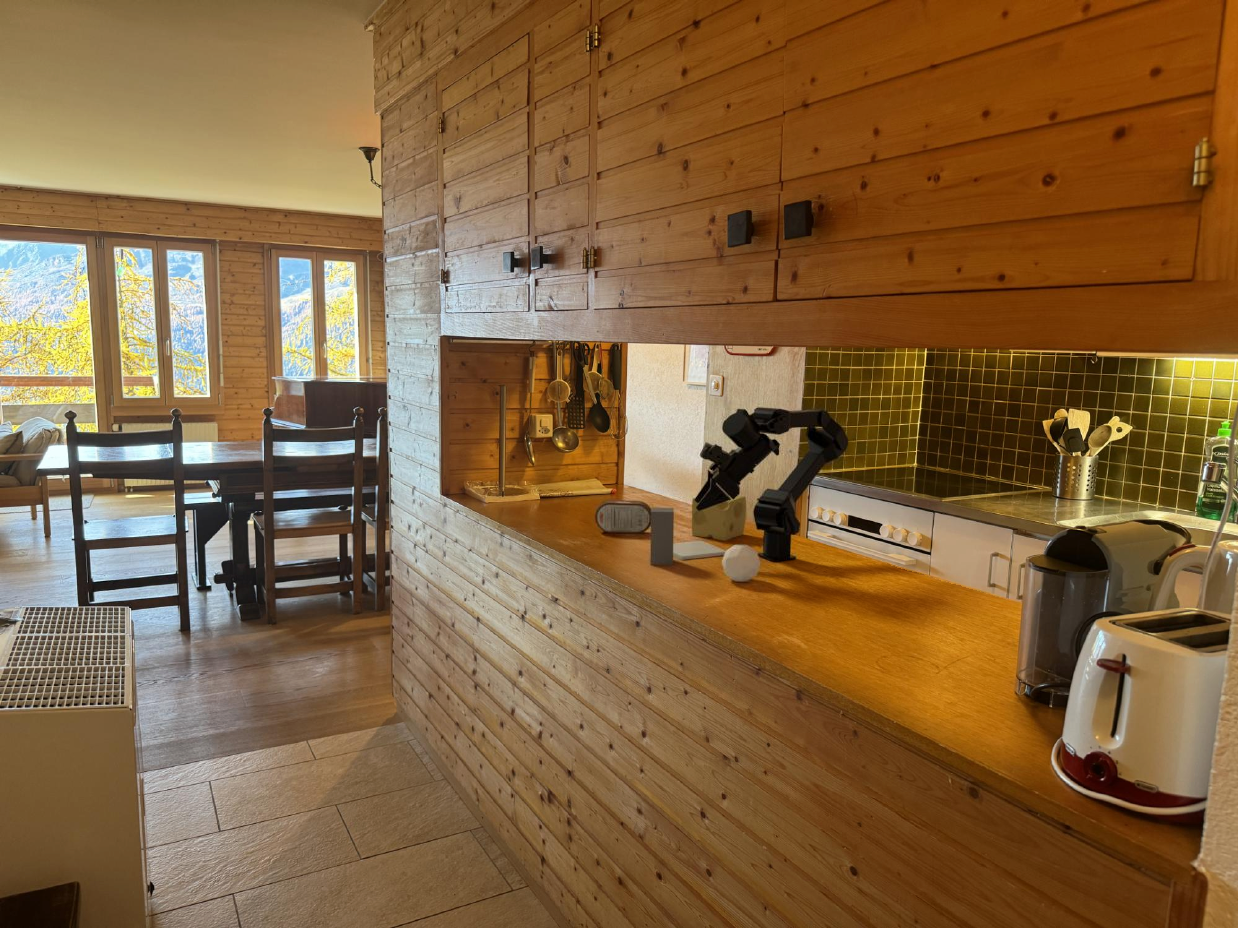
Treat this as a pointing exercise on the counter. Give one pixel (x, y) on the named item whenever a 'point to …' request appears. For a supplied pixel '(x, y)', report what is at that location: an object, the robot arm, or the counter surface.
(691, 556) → the tile
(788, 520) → the robot arm
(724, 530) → the cheese
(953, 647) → the counter surface
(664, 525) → the block
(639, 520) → the tin
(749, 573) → the ball
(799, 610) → the counter surface
